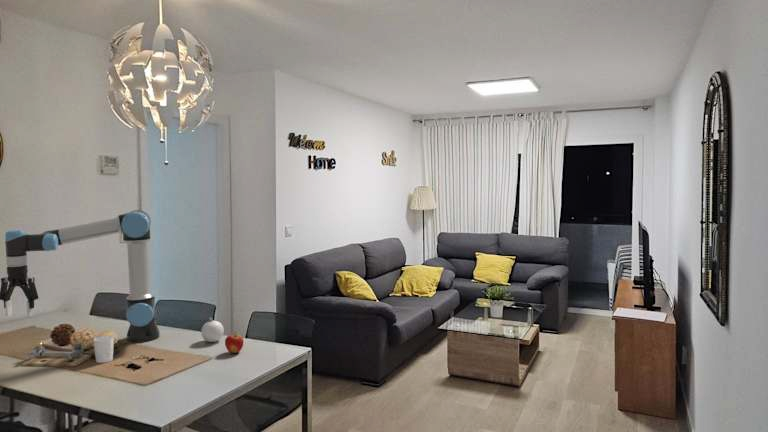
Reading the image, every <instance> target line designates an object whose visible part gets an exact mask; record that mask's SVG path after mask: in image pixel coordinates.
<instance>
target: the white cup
mask: <svg viewBox="0 0 768 432" xmlns="http://www.w3.org/2000/svg"><path fill="white" fill-rule="evenodd" d="M114 339H115V338H114V336H113V335H101V336H98V337H95V338H93V349H94V356H95V362H96V363H97V364H98V363H99V364H103V363H109V362H111V361H113V360H114V347H115V346H114V345H115V344H114V342H115V341H114Z"/></svg>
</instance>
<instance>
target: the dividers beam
mask: <svg viewBox="0 0 768 432" xmlns="http://www.w3.org/2000/svg"><path fill="white" fill-rule="evenodd" d="M83 355H85V350H84V347H82V343H81V342H78V343H74V344H73V349H72V351H49V350H48V351H46V350H45V351H42V352H40V357H60V358H69V361H72V358H81V357H83Z"/></svg>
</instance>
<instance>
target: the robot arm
mask: <svg viewBox="0 0 768 432" xmlns="http://www.w3.org/2000/svg"><path fill="white" fill-rule="evenodd" d="M117 234H122V235H123V237H122V239H123V242H124V243H126V245H127V246H126V248H127V266H128V284H129V285H128V286H129V295H128V296H126V311H125V312H126V313H125V316H126V320H127V322H128V323H129V327H128V330H127V334H126V341H128V342H131V343H143V342H144V343H145V342H149V341H154V340H157V339H159V338H160V334H161V333H160V329H159V327H158V324H157V322H156V297H155V293H154V292H153V291H151V292H150V277H149V274H150V273H149V272H150V271H149V256H148V253H149V252H148V243H149V241H151V218H150V215H148V214H147V212H146V211H143V210H139V209H137V210H136V209H135V210H132V211H130V212H126V213H123V214H120V215H119V214H118V215H117V217H113V218H109V219H104V220H98V221H93V222H89V223H84V224H83V223H81V224H77V225H73V226H69V227H62V228H57V229H53V230H45V231H43V232H42V233H39V234H38V233H36V234H27V233H26V230H24V229H21V230H20V229H18V230H15V229H14V230H8V231H6V232H5V237H4V238H5V241H4V243H5V254H6V255H5V259H6V260H5V261H6V274H7V276H5V277H2V278H0V282H1V284H0V301H3V307H4V309H5V315H6V317H8V316H9V317H10V316H13V306H12V299H11V297H12V295H13V292H14V290H15V288H16V287H17V288H20V289H22V290H21V291H22V292H23V294H24V295H25V297H26V299H27V301H26V315H27V317H31V316H33V315H34V308H35V300H39V294H38V291H37V288H36V284H35V279H36V278H35V277H28V265H27V264H28V255H27V253H28V252H50V251H56V250H58V247H59V246H62V245H67V244H72V243H78V242H82V241H86V240H87V241H88V240H92V239H97V238H101V237H107V236H111V235H117Z"/></svg>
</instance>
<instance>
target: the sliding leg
mask: <svg viewBox="0 0 768 432" xmlns="http://www.w3.org/2000/svg"><path fill="white" fill-rule="evenodd" d="M42 351H46V348H45V346H44V345H43V342H42V341H37V342H35V343H34V347H33V348H32V350H31V351H28V352H27V353H26V355H27V356H28V360H32V359H33V358H35V357H40V352H42Z"/></svg>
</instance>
